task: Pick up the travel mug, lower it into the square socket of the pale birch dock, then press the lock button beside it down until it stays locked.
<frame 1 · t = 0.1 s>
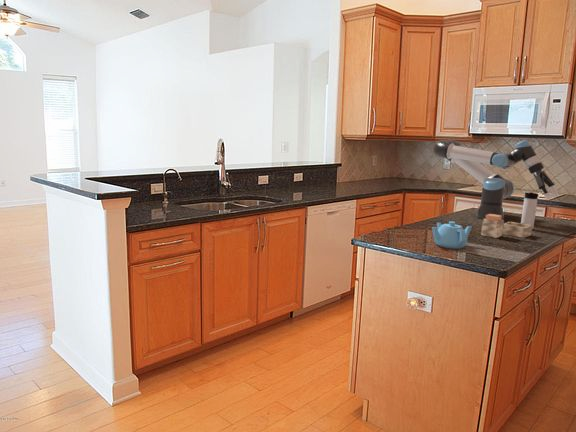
hand: (553, 197, 263), 15 cm above the countertop, tool tilted 35°, fingers open, 13 cm apart
teapot: (449, 245, 207), on the countertop
travel mug: (526, 229, 249), on the countertop
lock button: (493, 218, 228), point 9 cm above the countertop, slide at 0.0 cm
dock: (516, 234, 234), on the countertop
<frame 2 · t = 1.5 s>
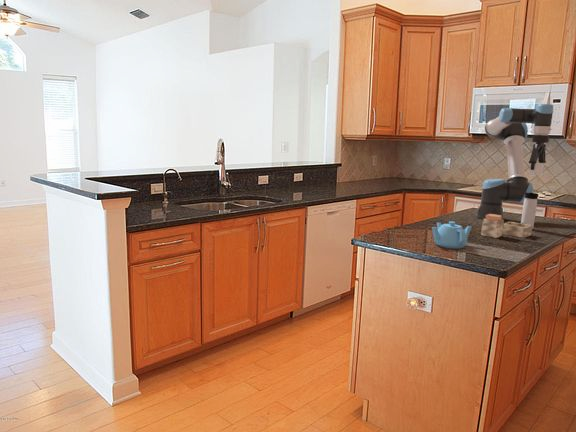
hand: (535, 175, 244), 29 cm above the countertop, tool pointing down, fingers open, 13 cm apart
nothing on the countertop moved.
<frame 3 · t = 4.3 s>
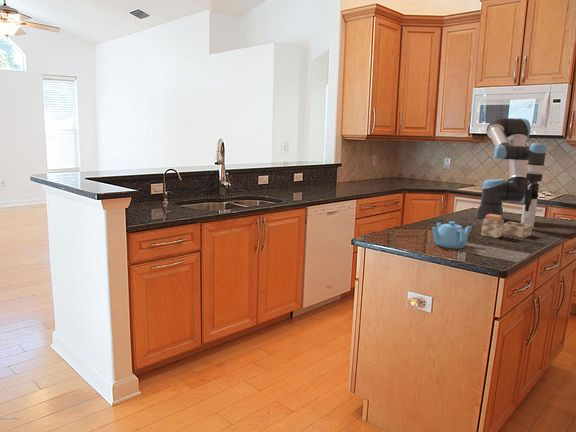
hand: (528, 216, 248), 7 cm above the countertop, tool pointing down, fingers closed on travel mug, 6 cm apart
travel mug: (526, 229, 249), on the countertop, touching gripper
everything else where it was.
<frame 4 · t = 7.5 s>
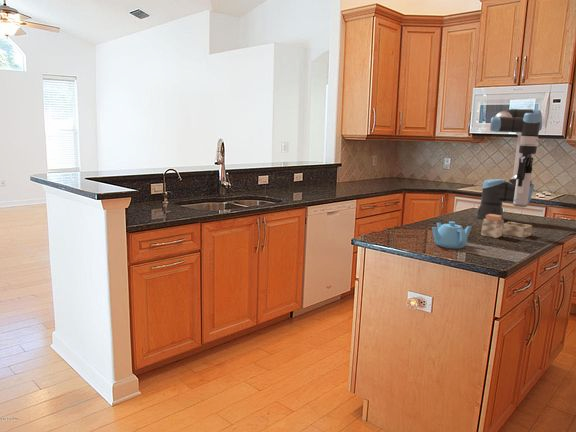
hand: (521, 192, 230), 21 cm above the countertop, tool pointing down, fingers closed on travel mug, 6 cm apart
travel mug: (519, 206, 231), point 14 cm above the countertop, touching gripper
everything else where it was.
when the fingers open (8 cm above the countertop, at t = 10.8 s): travel mug drops 1 cm, resting in dock.
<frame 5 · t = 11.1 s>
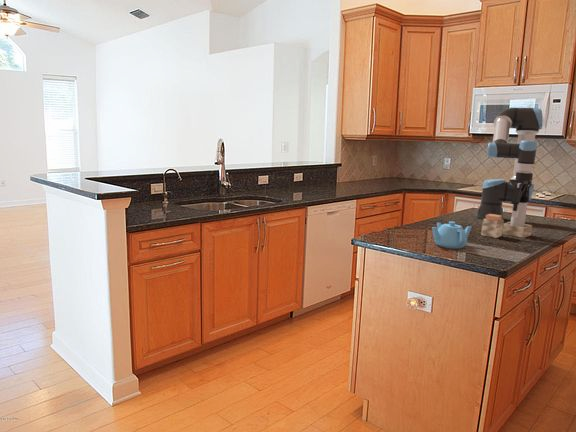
hand: (518, 216, 233), 9 cm above the countertop, tool pointing down, fingers open, 11 cm apart
travel mug: (515, 234, 234), resting in dock
everything else where it was.
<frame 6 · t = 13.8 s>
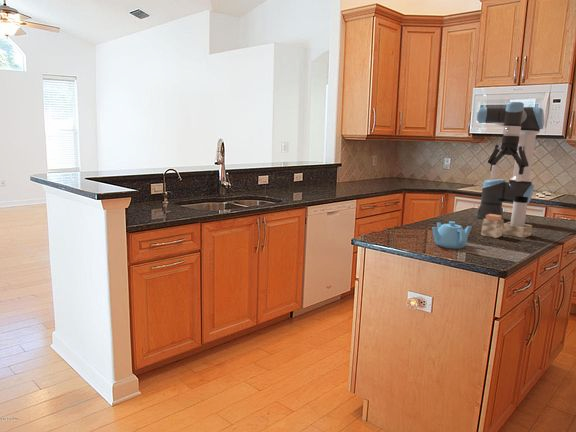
hand: (505, 179, 225), 28 cm above the countertop, tool pointing down, fingers open, 13 cm apart
nothing on the countertop moved.
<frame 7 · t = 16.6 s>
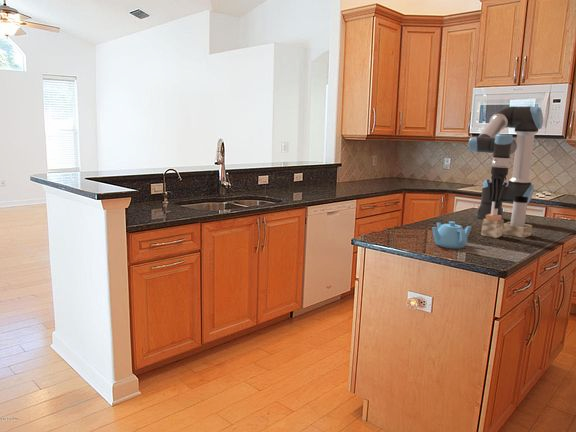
hand: (493, 214, 228), 10 cm above the countertop, tool pointing down, fingers closed
lock button: (493, 218, 228), point 9 cm above the countertop, slide at 0.0 cm, touching gripper
everything else where it was.
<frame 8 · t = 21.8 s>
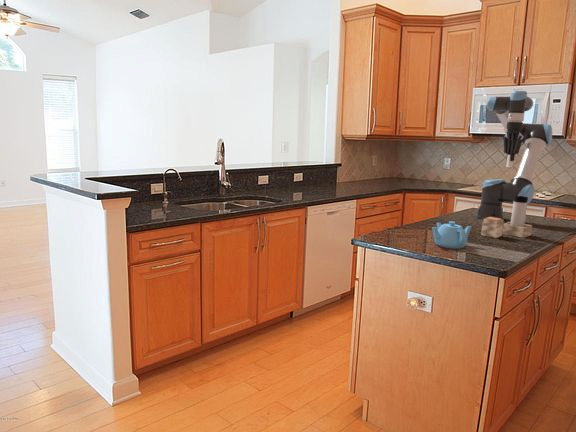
hand: (509, 167, 246), 32 cm above the countertop, tool pointing down, fingers closed
lock button: (493, 221, 228), point 7 cm above the countertop, slide at 1.6 cm
everything else where it was.
at the end: travel mug 0.1 cm off-centre on the dock, point 0.0 cm above the dock's base; travel mug tilted 0°; lock button slide at 1.6 cm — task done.
